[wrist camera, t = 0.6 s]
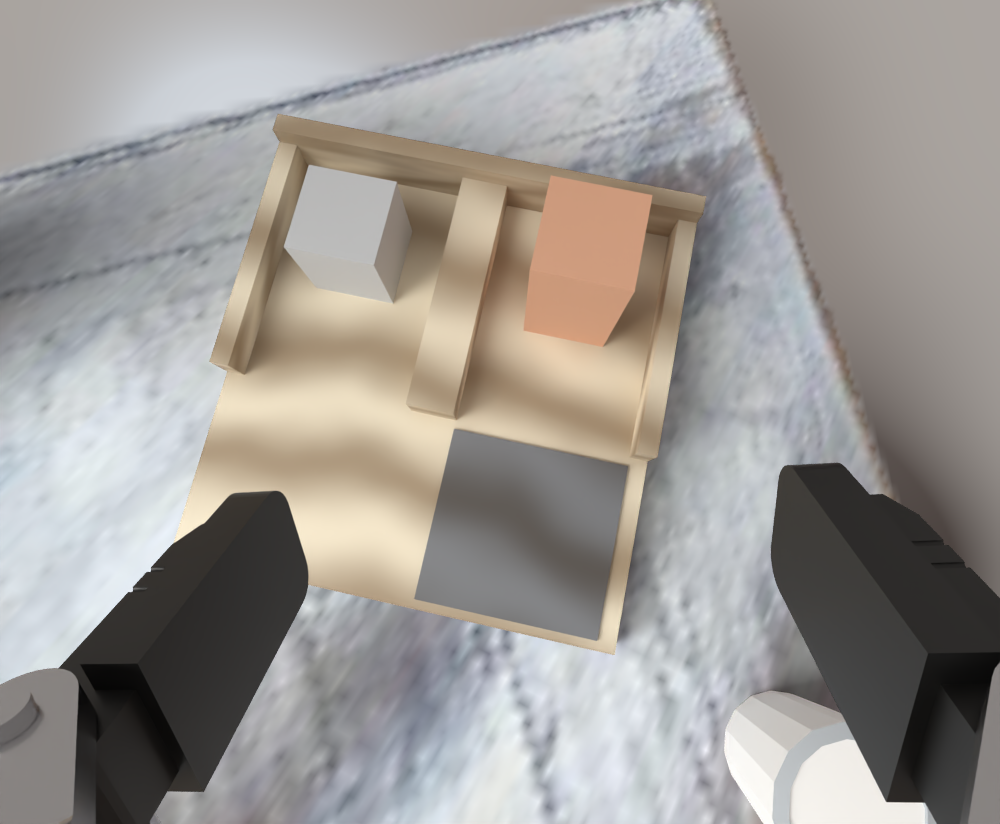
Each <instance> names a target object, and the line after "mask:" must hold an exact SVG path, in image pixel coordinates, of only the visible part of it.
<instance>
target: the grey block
mask: <svg viewBox="0 0 1000 824" xmlns="http://www.w3.org/2000/svg"><path fill="white" fill-rule="evenodd" d="M411 235H412V229H411V226H410V222H409V219H408V216H407V213H406V210H405V207H404V203H403V200H402V197H401V194H400V191H399V188H398V184H397V182H395V181H390V180H385V179H380V178H374V177H369V176H364V175H359V174H354V173H349V172H344V171H339V170H334V169H329V168H324V167H318V166H313V165H309V166H308V169H307V173H306V176H305V179H304V182H303V186H302V189H301V192H300V195H299V199H298V202H297V205H296V209H295V212H294V215H293V218H292V222H291V225H290V228H289V231H288V235H287V238H286V241H285V244H284V248H285V249H286V251H287V252H288V253H289V254H290V256H291V257H292V258H293V259H294V261H295V262H296V263H297V264H298V265H299V267H300V268H301V269H302V270H303V272H304V273H305V274H306V275H307V277H308V278H309V279H310V280H311V282H312V283H313V284H314V285H315V287H316V288H320V289H325V290H330V291H334V292H339V293H344V294H349V295H354V296H359V297H363V298H368V299H373V300H378V301H383V302H388V303H394V299H395V295H396V291H397V287H398V284H399V280H400V276H401V272H402V269H403V265H404V261H405V257H406V253H407V250H408V246H409V242H410V238H411Z"/></svg>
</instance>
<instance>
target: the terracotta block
mask: <svg viewBox="0 0 1000 824" xmlns="http://www.w3.org/2000/svg"><path fill="white" fill-rule="evenodd" d="M652 196H653V195H649V194H644V193H639V192H634V191H629V190H624V189H618V188H613V187H608V186H603V185H598V184H593V183H587V182H582V181H577V180H572V179H567V178H562V177H556V176H551V177H550V181H549V186H548V190H547V195H546V199H545V204H544V208H543V213H542V217H541V222H540V226H539V231H538V235H537V240H536V244H535V249H534V253H533V258H532V262H531V267H530V273H529V282H528V292H527V301H526V311H525V320H524V330H523V331H528V332H533V333H537V334H542V335H547V336H552V337H557V338H562V339H567V340H571V341H576V342H581V343H586V344H591V345H596V346H600V347H603V346H604V344H605V342H606V341H607V339H608V337H609V335H610V334H611V332H612V330H613V328H614V327H615V325H616V323H617V321H618V320H619V318H620V316H621V314H622V313H623V311H624V309H625V307H626V306H627V304H628V302H629V300H630V299H631V297H632V295H633V293H634V292H635V287H636V282H637V277H638V271H639V266H640V260H641V255H642V250H643V244H644V239H645V233H646V228H647V223H648V217H649V212H650V207H651V201H652Z"/></svg>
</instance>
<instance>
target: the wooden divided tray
mask: <svg viewBox="0 0 1000 824" xmlns="http://www.w3.org/2000/svg"><path fill="white" fill-rule="evenodd" d="M273 131H274V133H275V135H276V136H277V138H278V140H279V141H280V142H279V145H278V148H277V152H276V155H275V158H274V161H273V164H272V167H271V170H270V173H269V177H268V180H267V183H266V186H265V189H264V192H263V195H262V198H261V202H260V205H259V208H258V211H257V214H256V217H255V220H254V224H253V227H252V230H251V233H250V236H249V239H248V242H247V245H246V249H245V252H244V255H243V258H242V261H241V264H240V267H239V270H238V274H237V277H236V280H235V283H234V286H233V289H232V292H231V296H230V299H229V302H228V305H227V308H226V311H225V314H224V317H223V321H222V324H221V327H220V330H219V333H218V336H217V339H216V342H215V346H214V349H213V352H212V355H211V358H210V361H209V362H211V363H213V364H215V365H217V366H218V367H220V368H222V369H224V370H226V371H227V374H226V377H225V381H224V384H223V387H222V390H221V393H220V397H219V400H218V403H217V406H216V409H215V413H214V416H213V419H212V422H211V425H210V429H209V432H208V435H207V438H206V441H205V445H204V448H203V451H202V454H201V457H200V461H199V464H198V467H197V470H196V473H195V477H194V480H193V483H192V486H191V489H190V493H189V496H188V499H187V502H186V505H185V509H184V512H183V515H182V518H181V521H180V524H179V528H178V531H177V534H176V537H175V540H174V543H175V542H176V541H178V540H179V539H181V538H182V537H184V536H185V535H187V534H188V533H189V532H191V531H192V530H194V529H195V528H197V527H198V526H200V525H201V524H204V523H205V522H206V521H207V520H208V519H209V518H210V516H211V515H212V514H213V513H214V512H215V511H216V510H217V509H218V507H219V506H220V505H221V504H222V503H223V502H224V501H225V499H226V498H227V497H228V496H229V495H231V494H233V493H240V492H259V491H280V492H281V493H283V494H284V496H285V497H286V499H287V501H288V503H289V507H290V510H291V513H292V516H293V519H294V523H295V526H296V529H297V532H298V535H299V538H300V542H301V545H302V548H303V551H304V554H305V558H306V561H307V565H308V574H309V579H308V585H312V586H316V587H321V588H325V589H329V590H334V591H338V592H342V593H347V594H351V595H355V596H360V597H364V598H369V599H373V600H377V601H382V602H386V603H390V604H395V605H399V606H403V607H408V608H412V609H416V610H421V611H425V612H429V613H434V614H438V615H442V616H447V617H451V618H455V619H460V620H464V621H469V622H473V623H477V624H482V625H486V626H490V627H495V628H499V629H503V630H508V631H512V632H516V633H521V634H525V635H529V636H534V637H538V638H542V639H547V640H551V641H555V642H560V643H564V644H568V645H573V646H577V647H582V648H586V649H590V650H595V651H599V652H603V653H608V654H612V655H615V649H616V643H617V637H618V631H619V626H620V620H621V614H622V608H623V602H624V596H625V591H626V585H627V579H628V573H629V567H630V561H631V556H632V550H633V544H634V538H635V532H636V526H637V521H638V515H639V509H640V503H641V497H642V491H643V486H644V480H645V474H646V468H647V462H648V461H650V460H652V459H655V458H657V457H658V451H659V445H660V439H661V433H662V427H663V421H664V415H665V409H666V403H667V398H668V392H669V386H670V380H671V374H672V368H673V362H674V356H675V350H676V344H677V338H678V332H679V326H680V321H681V315H682V309H683V303H684V297H685V291H686V285H687V279H688V273H689V267H690V261H691V255H692V249H693V243H694V238H695V232H696V226H697V222H698V221H699V219H700V218H701V216H702V215H703V212H704V206H705V200H706V196H701V195H696V194H691V193H686V192H681V191H675V190H670V189H665V188H660V187H655V186H649V185H644V184H639V183H634V182H629V181H624V180H618V179H613V178H608V177H603V176H598V175H592V174H587V173H582V172H577V171H572V170H567V169H561V168H556V167H551V166H546V165H541V164H535V163H530V162H525V161H520V160H515V159H509V158H504V157H499V156H494V155H489V154H484V153H478V152H473V151H468V150H463V149H458V148H452V147H447V146H442V145H437V144H432V143H427V142H421V141H416V140H411V139H406V138H401V137H395V136H390V135H385V134H380V133H375V132H370V131H364V130H359V129H354V128H349V127H344V126H338V125H333V124H328V123H323V122H318V121H312V120H307V119H302V118H297V117H292V116H287V115H281V114H278V115H277V118H276V121H275V124H274V127H273ZM309 165H313V166H318V167H324V168H329V169H334V170H339V171H344V172H349V173H354V174H359V175H364V176H369V177H374V178H380V179H385V180H390V181H395V182H397V184H398V188H399V191H400V194H401V197H402V200H403V203H404V207H405V210H406V213H407V216H408V219H409V222H410V226H411V229H412V235H411V238H410V242H409V246H408V250H407V253H406V257H405V261H404V265H403V269H402V272H401V276H400V280H399V284H398V287H397V291H396V295H395V299H394V303H388V302H383V301H378V300H373V299H368V298H363V297H359V296H354V295H349V294H344V293H339V292H334V291H330V290H325V289H320V288H316V287H315V285H314V284H313V283H312V282H311V280H310V279H309V278H308V277H307V275H306V274H305V273H304V272H303V270H302V269H301V268H300V267H299V265H298V264H297V263H296V262H295V261H294V259H293V258H292V257H291V256H290V254H289V253H288V252H287V251H286V249H285V248H284V244H285V241H286V238H287V235H288V231H289V228H290V225H291V222H292V218H293V215H294V212H295V209H296V205H297V202H298V199H299V195H300V192H301V189H302V186H303V182H304V179H305V176H306V173H307V169H308V166H309ZM551 176H556V177H562V178H567V179H572V180H577V181H582V182H587V183H593V184H598V185H603V186H608V187H613V188H618V189H624V190H629V191H634V192H639V193H644V194H649V195H653V196H652V201H651V207H650V212H649V217H648V223H647V228H646V233H645V239H644V244H643V250H642V255H641V260H640V266H639V271H638V277H637V282H636V287H635V292H634V293H633V295H632V297H631V299H630V300H629V302H628V304H627V306H626V307H625V309H624V311H623V313H622V314H621V316H620V318H619V320H618V321H617V323H616V325H615V327H614V328H613V330H612V332H611V334H610V335H609V337H608V339H607V341H606V342H605V344H604V346H603V347H600V346H596V345H591V344H586V343H581V342H576V341H571V340H567V339H562V338H557V337H552V336H547V335H542V334H537V333H533V332H528V331H523V330H524V320H525V311H526V301H527V292H528V282H529V273H530V267H531V262H532V258H533V253H534V249H535V244H536V240H537V235H538V231H539V226H540V222H541V217H542V213H543V208H544V204H545V199H546V195H547V190H548V186H549V181H550V177H551Z"/></svg>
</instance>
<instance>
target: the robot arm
mask: <svg viewBox="0 0 1000 824" xmlns="http://www.w3.org/2000/svg"><path fill="white" fill-rule="evenodd" d="M771 561H772V568H773V573H774V577H775V581H776V584H777V586H778V589H779V591H780V593H781V595H782V597H783V599H784V601H785V603H786V605H787V607H788V609H789V611H790V613H791V615H792V617H793V619H794V621H795V623H796V625H797V627H798V629H799V631H800V633H801V634H802V636H803V638H804V640H805V642H806V644H807V646H808V648H809V650H810V652H811V654H812V656H813V658H814V660H815V662H816V664H817V666H818V668H819V670H820V672H821V674H822V676H823V678H824V680H825V682H826V684H827V686H828V688H829V690H830V692H831V694H832V696H833V698H834V700H835V702H836V704H837V706H838V708H839V710H840V712H841V714H842V716H843V718H844V720H845V722H846V724H847V726H848V728H849V730H850V732H851V733H852V735H853V737H854V739H855V741H856V743H857V745H858V747H859V749H860V751H861V753H862V755H863V757H864V759H865V761H866V763H867V765H868V767H869V769H870V771H871V773H872V775H873V777H874V779H875V781H876V783H877V785H878V787H879V789H880V791H881V793H882V795H883V797H884V799H885V801H886V802H901V803H925V804H926V806H927V807H928V809H929V811H930V813H931V814H932V816H933V818H934V820H935V822H936V823H937V824H1000V598H999V597H998V596H997V595H996V594H995V593H994V592H993V591H992V590H991V589H990V588H989V587H988V585H986V584H985V582H984V581H983V580H982V579H981V578H980V577H979V576H978V575H977V574H976V573H975V572H974V571H973V570H972V569H971V568H966V567H965V564H964V561H963V560H962V559H961V558H960V557H959V556H958V555H957V554H956V553H955V552H954V550H953V549H952V548H951V547H950V546H949V545H944V543H943V539H942V538H941V537H940V536H939V535H938V534H937V533H936V532H935V531H934V530H933V529H932V528H931V527H930V526H929V525H928V524H927V523H926V522H925V521H924V520H923V519H922V518H921V517H920V515H918V514H916V513H915V512H913V511H911V510H910V509H908V508H906V507H904V506H903V505H901V504H899V503H897V502H896V501H894V500H892V499H890V498H889V497H887V496H885V495H883V494H875V495H869V493H868V492H867V491H866V490H865V489H864V488H863V487H862V486H861V484H860V483H859V482H858V481H857V480H856V479H855V478H854V477H853V475H852V474H851V473H850V472H849V471H848V470H847V469H846V468H845V467H844V466H843V465H842V464H840V463H823V464H803V465H787V466H784V467H783V468H782V470H781V472H780V476H779V481H778V490H777V499H776V508H775V517H774V526H773V535H772V544H771ZM308 579H309V574H308V565H307V561H306V558H305V554H304V551H303V548H302V545H301V542H300V538H299V535H298V532H297V529H296V526H295V523H294V519H293V516H292V513H291V510H290V507H289V503H288V501H287V499H286V497H285V496H284V494H283V493H281V492H280V491H259V492H240V493H233V494H231V495H229V496H228V497H227V498H226V499H225V501H224V502H223V503H222V504H221V505H220V506H219V507H218V509H217V510H216V511H215V512H214V513H213V514H212V515H211V516H210V518H209V519H208V520H207V521H206V522H205V523H204V524H201V525H200V526H198V527H197V528H195V529H194V530H192V531H191V532H189V533H188V534H187V535H185V536H184V537H182V538H181V539H179V540H178V541H176V542H175V543H173V544H172V545H171V546H170V547H169V548H168V549H167V551H166V552H165V553H164V554H163V555H162V556H161V557H160V558H159V559H158V560H157V561H156V563H155V564H154V565H153V566H152V567H151V572H146V573H145V575H144V576H143V577H142V578H141V579H140V580H139V581H138V582H137V583H136V584H135V585H134V587H133V592H128V593H127V594H126V595H125V596H124V597H123V599H122V600H121V601H120V602H119V603H118V604H117V605H116V606H115V607H114V608H113V609H112V611H111V612H110V613H109V614H108V615H107V616H106V617H105V618H104V619H103V620H102V621H101V623H100V624H99V625H98V626H97V627H96V628H95V629H94V630H93V631H92V632H91V633H90V635H89V636H88V637H87V638H86V639H85V640H84V641H83V642H82V643H81V644H80V645H79V647H78V648H77V649H76V650H75V651H74V652H73V653H72V654H71V655H70V656H69V657H68V659H67V660H66V661H65V662H64V663H63V664H62V665H61V666H60V667H59V668H52V669H43V670H37V671H34V672H30V673H27V674H24V675H21V676H19V677H16V678H13V679H11V680H9V681H7V682H5V683H3V684H1V685H0V824H161V821H160V820H159V818H158V816H157V814H156V813H155V812H156V810H157V808H158V806H159V805H160V803H161V801H162V800H163V798H164V796H165V794H166V793H167V791H181V792H204V790H205V788H206V787H207V785H208V783H209V781H210V779H211V777H212V775H213V773H214V771H215V769H216V767H217V766H218V764H219V762H220V760H221V758H222V756H223V754H224V752H225V750H226V748H227V747H228V745H229V743H230V741H231V739H232V737H233V735H234V733H235V731H236V729H237V727H238V726H239V724H240V722H241V720H242V718H243V716H244V714H245V712H246V710H247V708H248V706H249V705H250V703H251V701H252V699H253V697H254V695H255V693H256V691H257V689H258V687H259V685H260V684H261V682H262V680H263V678H264V676H265V674H266V672H267V670H268V668H269V666H270V665H271V663H272V661H273V659H274V657H275V655H276V653H277V651H278V649H279V647H280V645H281V644H282V642H283V640H284V638H285V636H286V634H287V632H288V630H289V628H290V626H291V624H292V623H293V621H294V619H295V617H296V615H297V613H298V611H299V609H300V607H301V605H302V603H303V601H304V599H305V596H306V593H307V588H308Z"/></svg>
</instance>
